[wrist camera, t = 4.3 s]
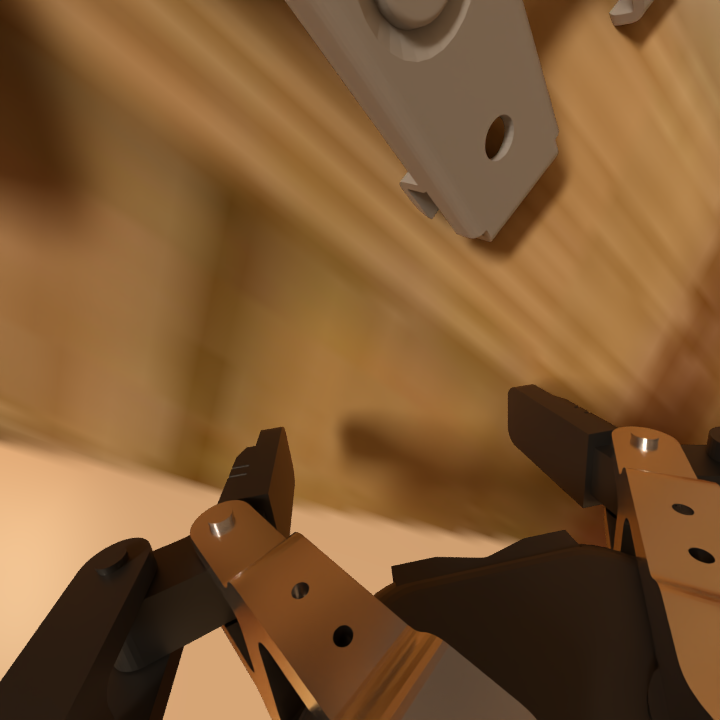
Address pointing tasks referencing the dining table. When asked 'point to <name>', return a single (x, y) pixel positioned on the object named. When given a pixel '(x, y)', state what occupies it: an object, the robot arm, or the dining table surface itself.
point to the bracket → (449, 95)
